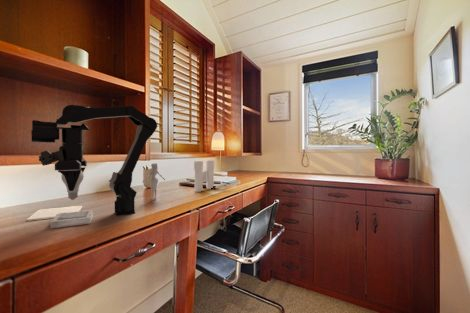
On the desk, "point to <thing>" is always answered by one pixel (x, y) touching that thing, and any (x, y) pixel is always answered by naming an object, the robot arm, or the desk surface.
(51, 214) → the mat
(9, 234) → the desk surface
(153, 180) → the human figurine
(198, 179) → the binoculars
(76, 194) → the lightbulb
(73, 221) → the grey flat square frame
